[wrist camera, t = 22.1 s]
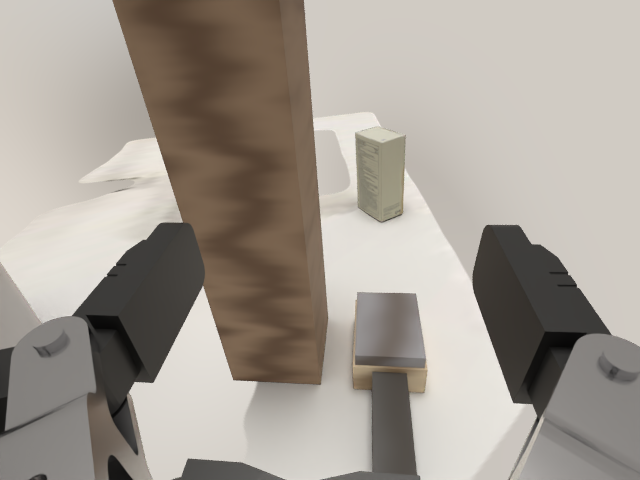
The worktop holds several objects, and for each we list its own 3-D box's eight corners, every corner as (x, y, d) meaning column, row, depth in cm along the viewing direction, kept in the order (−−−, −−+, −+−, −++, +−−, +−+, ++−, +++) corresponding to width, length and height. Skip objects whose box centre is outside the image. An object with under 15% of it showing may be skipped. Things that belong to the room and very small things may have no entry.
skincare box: (403, 214, 56) (408, 135, 49) (380, 223, 54) (382, 142, 48) (377, 199, 61) (379, 124, 54) (355, 207, 59) (354, 131, 52)
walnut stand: (233, 380, 34) (96, -50, 17) (254, 316, 40) (173, -40, 23) (320, 384, 33) (272, -68, 16) (328, 318, 39) (299, -52, 22)
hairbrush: (349, 499, 25) (347, 469, 23) (356, 321, 39) (355, 290, 37) (440, 508, 24) (447, 477, 22) (414, 323, 38) (417, 292, 36)
